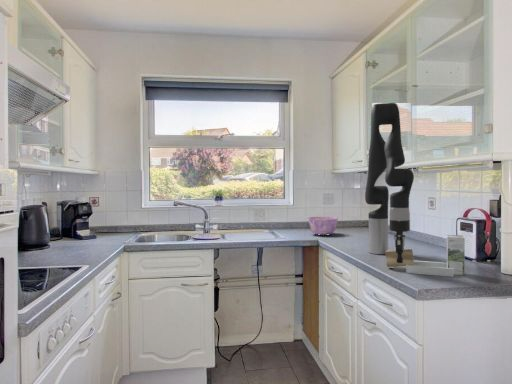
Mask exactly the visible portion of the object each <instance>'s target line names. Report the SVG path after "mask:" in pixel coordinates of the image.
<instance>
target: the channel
mask: <svg viewBox="0 0 512 384" xmlns="http://www.w3.org/2000/svg"><path fill="white" fill-rule="evenodd" d="M392 271H395V272H405V273H406V274H407V273H408V274H417V275H418V274H419V275H430V276H442V277H443V276H444V277H453V278H454V276H455V275H454V268H447V262H441V261H428V260H426V261H425V260H414V265H406V266H399V267H392Z"/></svg>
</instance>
